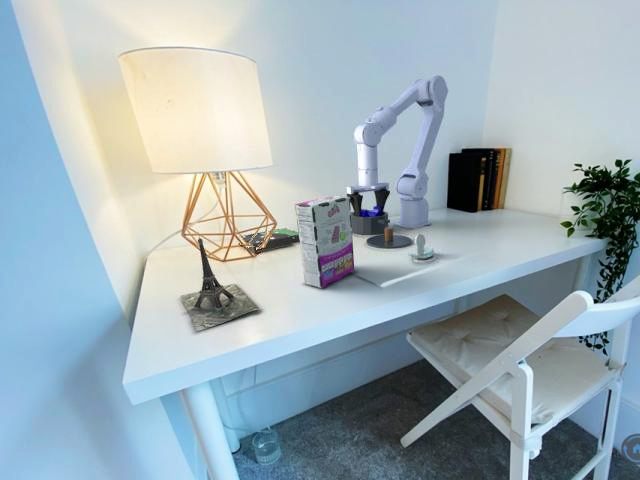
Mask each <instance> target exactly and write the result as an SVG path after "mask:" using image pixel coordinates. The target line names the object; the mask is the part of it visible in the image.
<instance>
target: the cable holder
mask: <svg viewBox="0 0 640 480" xmlns="http://www.w3.org/2000/svg"><path fill="white" fill-rule="evenodd" d="M372 208H373V209H369V210H370V211H369V212H368V211H367V210H368V209H366V208H361V211H362V215H361V217H377V216H382V214H381V206H376V205H373V207H372Z"/></svg>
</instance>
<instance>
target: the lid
mask: <svg viewBox="0 0 640 480" xmlns="http://www.w3.org/2000/svg"><path fill="white" fill-rule="evenodd" d="M365 240H366V241H365V242H366V244H367V245H368V246H370V247H371V248H376V249H385V250H386V249H387V250H388V249H391V250H392V249H400V248H405V247H407V246H410V245H411V244H412V243H413V242H412V238H410V237H409V236H407V235H402V234H401V235H400V234H394V227H393V226H388V227H385V233H384V234H380V235H372V236H370V237H368V238H367V239H365Z"/></svg>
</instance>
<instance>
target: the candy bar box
mask: <svg viewBox="0 0 640 480" xmlns="http://www.w3.org/2000/svg"><path fill="white" fill-rule="evenodd" d="M351 207H352V206H351V202H350V197H347V195H346V196H344V195H329V196H325V197H320V198H316V199H312V200H311V199H310V200H308V201H307V200H306V201H302V202H299V203H294V208H295V209H294V210H295V216H296V222H297V223H296V225H297V232H299V240H300V242H299V246H300V254H301V261H302V269H303V270H302V271H303V279H304V284H305V285H307V286H311V287H314V288H318V289H324V288H326V287H329V286H330V285H332V284H334V283H336V282H337V281H338V282H339V280H341V279H343V278H345V277H347V276H348V275H351V274H353V272H354V271H355V258H354V257H355V256H354V255H355V254H354V241H353V233H352V223H351V212H352V210H351V209H352V208H351Z"/></svg>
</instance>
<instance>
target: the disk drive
mask: <svg viewBox="0 0 640 480" xmlns="http://www.w3.org/2000/svg"><path fill="white" fill-rule="evenodd" d="M274 230H275V231H274V232H273V234H272V236H271V238H270V239H269V241H268V243H267V245H266V247H265V248H261V249H257V250H256V247H259V246H260V245H261V244H262V243H263V242H264V238H265V234H266V231H260V232H256V233H257V235H256V236H255V237H254V238H253V240H252V241H251V242H250V244H251V245H253V246H255V247H249V248H248V247H247V249H248V250H247V249H246V248H244V249H246V250H247V251H249V252H251V253H260V252H265V251H270V250H271V251H272V250H275V249H279V248H282V247H287V246H293V244H295V243H300V240H299V232H298V231H296V230H291V229H288V228H287V227H285V228H277V229H276V228H275V229H274ZM254 234H255V233H250V234H243V235H240V236H241V237H242V238H243V240H244V241H245V242H246V243H249V241H250V240H251V238H252V236H253V235H254ZM237 243H238V242H237ZM237 245H238V246H240V243H238V244H237Z"/></svg>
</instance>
